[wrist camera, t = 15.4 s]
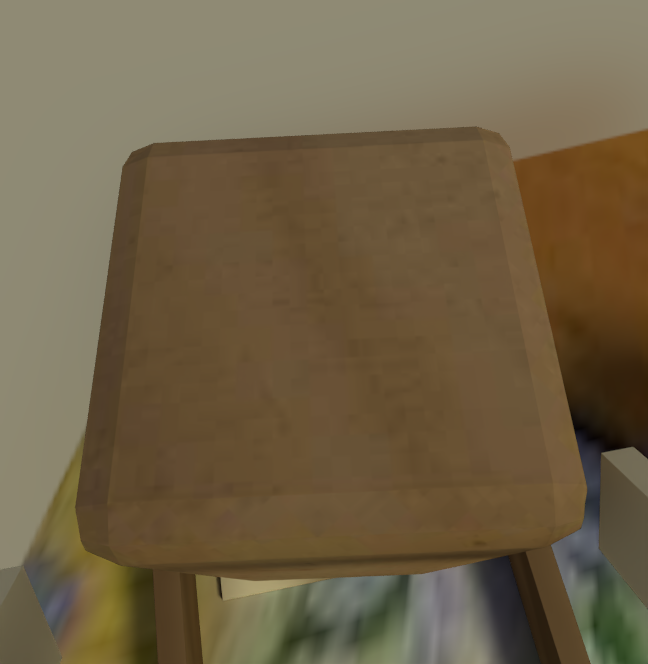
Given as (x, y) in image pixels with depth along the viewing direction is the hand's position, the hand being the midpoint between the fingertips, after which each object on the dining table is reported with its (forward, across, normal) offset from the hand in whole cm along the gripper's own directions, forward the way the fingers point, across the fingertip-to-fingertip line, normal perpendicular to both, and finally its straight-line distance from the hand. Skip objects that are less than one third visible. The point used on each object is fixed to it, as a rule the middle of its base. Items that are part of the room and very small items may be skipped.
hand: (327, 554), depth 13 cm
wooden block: (+15, +1, -8) cm, 18 cm away
